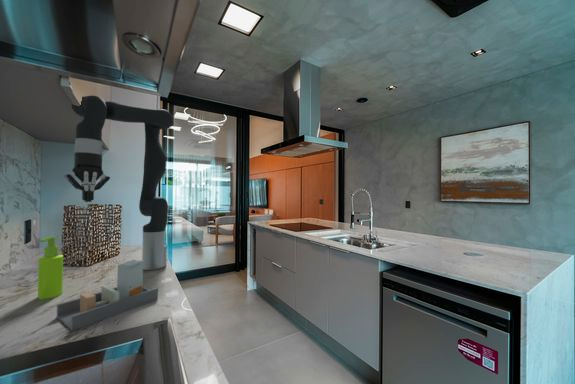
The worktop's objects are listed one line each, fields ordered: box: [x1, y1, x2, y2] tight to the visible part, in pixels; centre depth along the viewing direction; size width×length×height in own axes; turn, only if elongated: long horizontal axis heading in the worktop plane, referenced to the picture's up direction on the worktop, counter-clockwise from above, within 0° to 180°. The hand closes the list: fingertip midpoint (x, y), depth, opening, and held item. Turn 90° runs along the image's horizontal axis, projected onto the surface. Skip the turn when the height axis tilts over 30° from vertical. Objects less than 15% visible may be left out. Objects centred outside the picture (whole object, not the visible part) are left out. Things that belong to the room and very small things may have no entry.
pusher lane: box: [56, 285, 159, 332], centre depth 73 cm, size 22×12×4 cm, turn 148°
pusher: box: [79, 284, 119, 313], centre depth 70 cm, size 7×10×5 cm
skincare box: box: [116, 259, 144, 300], centre depth 77 cm, size 6×4×12 cm
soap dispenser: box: [37, 236, 64, 300], centre depth 80 cm, size 6×7×20 cm
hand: (87, 201), depth 84 cm, fingers closed
